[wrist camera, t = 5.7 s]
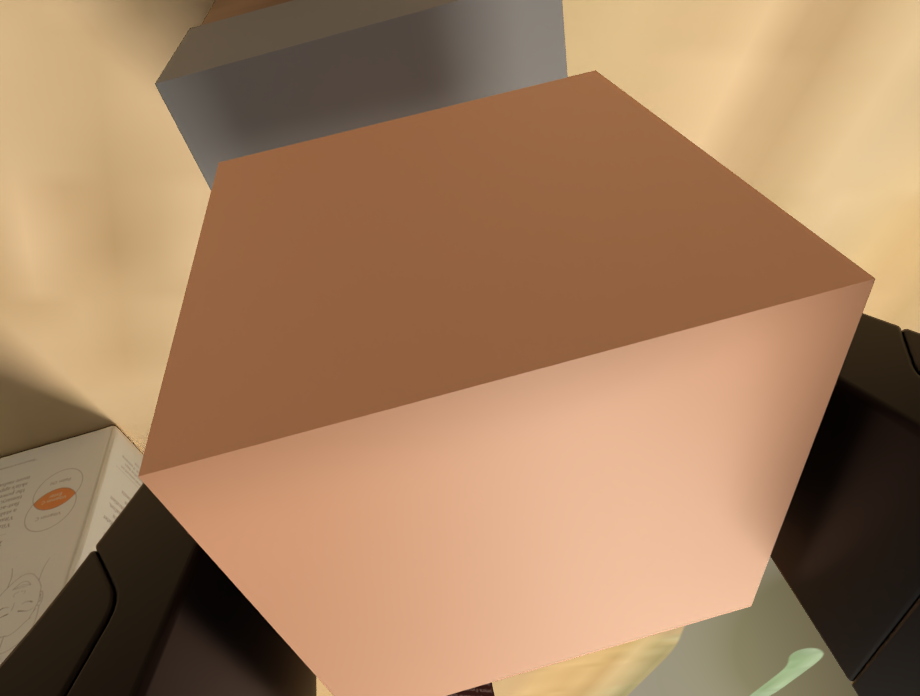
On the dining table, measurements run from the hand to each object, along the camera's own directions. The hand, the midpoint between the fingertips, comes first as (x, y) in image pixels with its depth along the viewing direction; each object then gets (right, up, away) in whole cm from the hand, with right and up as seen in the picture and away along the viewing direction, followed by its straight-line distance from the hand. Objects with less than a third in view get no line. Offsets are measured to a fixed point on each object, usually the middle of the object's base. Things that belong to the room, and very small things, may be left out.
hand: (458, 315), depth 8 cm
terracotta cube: (0, +1, +1) cm, 1 cm away
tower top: (-2, +5, +7) cm, 8 cm away
